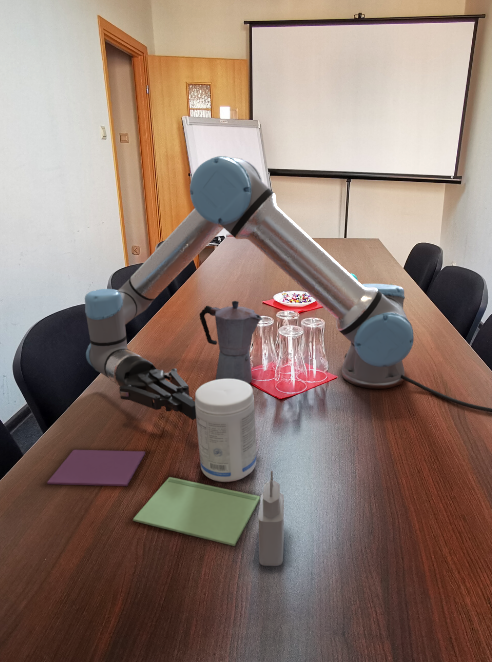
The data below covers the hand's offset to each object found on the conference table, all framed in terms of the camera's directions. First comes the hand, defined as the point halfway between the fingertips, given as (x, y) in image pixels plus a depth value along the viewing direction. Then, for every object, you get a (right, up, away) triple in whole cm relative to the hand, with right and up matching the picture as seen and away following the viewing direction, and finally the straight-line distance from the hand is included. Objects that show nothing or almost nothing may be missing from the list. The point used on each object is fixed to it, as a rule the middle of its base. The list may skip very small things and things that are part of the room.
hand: (195, 411), depth 82 cm
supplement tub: (+6, -9, -3) cm, 12 cm away
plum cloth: (-16, -9, -4) cm, 18 cm away
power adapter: (+15, -15, -20) cm, 29 cm away
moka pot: (+3, +2, +28) cm, 28 cm away
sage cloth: (+3, -12, -13) cm, 18 cm away
